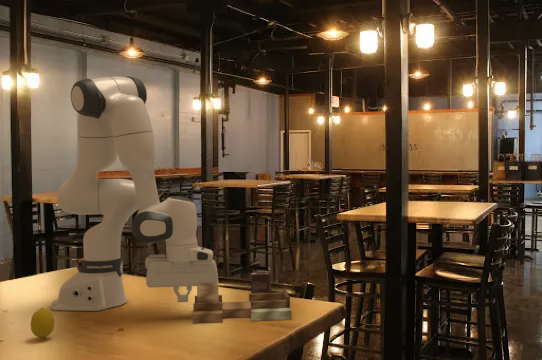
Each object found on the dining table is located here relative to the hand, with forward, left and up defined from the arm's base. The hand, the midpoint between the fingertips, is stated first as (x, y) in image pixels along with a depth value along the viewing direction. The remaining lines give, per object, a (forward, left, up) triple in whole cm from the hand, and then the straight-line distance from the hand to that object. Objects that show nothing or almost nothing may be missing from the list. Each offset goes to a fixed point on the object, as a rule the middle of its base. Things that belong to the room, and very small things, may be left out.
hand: (182, 301), depth 163 cm
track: (+17, 0, -4) cm, 17 cm away
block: (+7, 0, -2) cm, 7 cm away
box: (+24, +23, -4) cm, 34 cm away
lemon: (-34, -17, -4) cm, 38 cm away
